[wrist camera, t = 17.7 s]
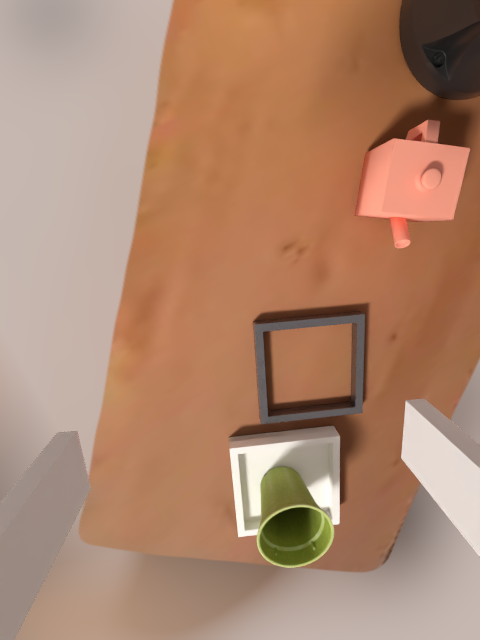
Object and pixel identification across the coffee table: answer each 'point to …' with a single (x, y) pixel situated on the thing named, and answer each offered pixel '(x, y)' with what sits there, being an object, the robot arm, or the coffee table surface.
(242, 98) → the coffee table surface
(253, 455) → the tray
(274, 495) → the plant pot
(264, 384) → the grey square frame
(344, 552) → the coffee table surface
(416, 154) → the pink cube teapot
